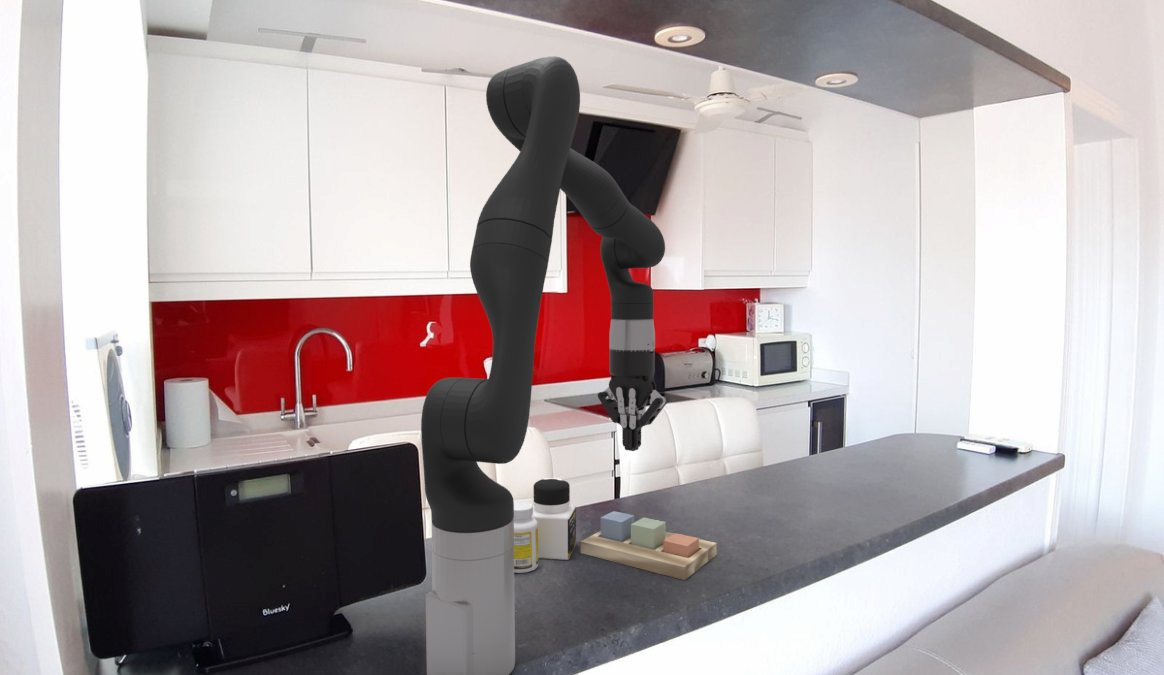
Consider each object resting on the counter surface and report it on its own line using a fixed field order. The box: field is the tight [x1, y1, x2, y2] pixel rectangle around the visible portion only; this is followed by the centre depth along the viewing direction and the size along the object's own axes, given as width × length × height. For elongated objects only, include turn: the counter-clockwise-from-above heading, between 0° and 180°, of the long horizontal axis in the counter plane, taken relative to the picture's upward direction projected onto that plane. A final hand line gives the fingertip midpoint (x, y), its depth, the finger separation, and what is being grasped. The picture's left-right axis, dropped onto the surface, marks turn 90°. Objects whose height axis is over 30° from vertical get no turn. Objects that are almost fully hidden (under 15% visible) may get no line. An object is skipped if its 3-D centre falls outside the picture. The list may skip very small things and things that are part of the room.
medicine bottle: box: [532, 477, 577, 561], centre depth 110 cm, size 7×7×12 cm
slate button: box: [599, 510, 635, 542], centre depth 113 cm, size 4×4×4 cm
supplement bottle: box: [514, 502, 539, 574], centre depth 104 cm, size 5×5×10 cm
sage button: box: [631, 516, 667, 550], centre depth 109 cm, size 4×4×4 cm
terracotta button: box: [663, 532, 700, 558], centre depth 106 cm, size 4×4×4 cm
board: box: [580, 530, 718, 581], centre depth 109 cm, size 12×19×2 cm, turn 55°
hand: (631, 449), depth 110 cm, fingers closed
